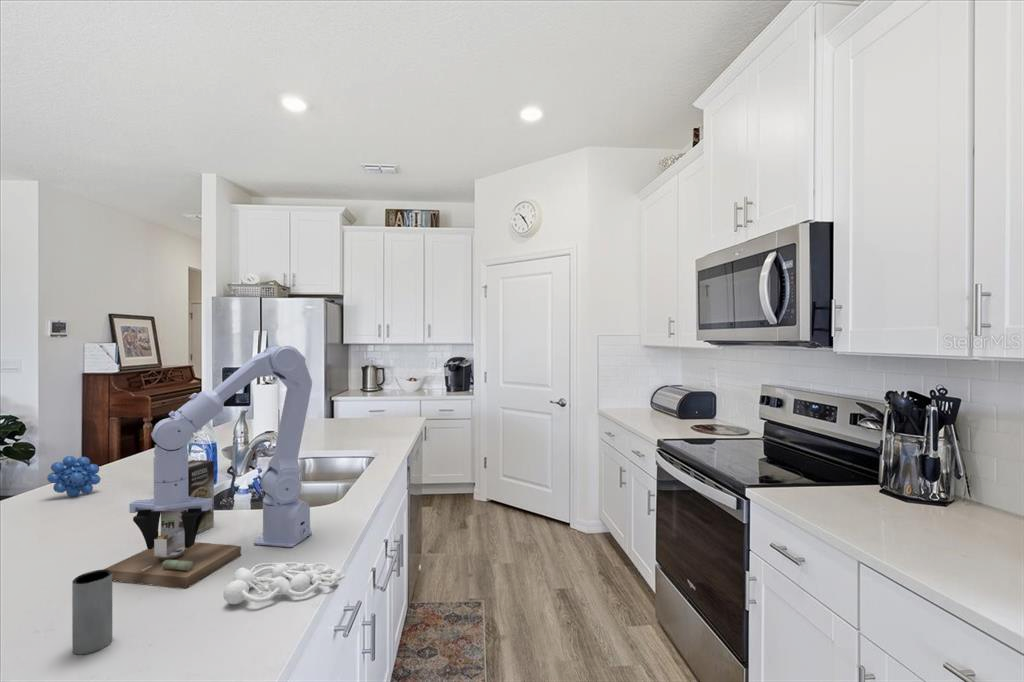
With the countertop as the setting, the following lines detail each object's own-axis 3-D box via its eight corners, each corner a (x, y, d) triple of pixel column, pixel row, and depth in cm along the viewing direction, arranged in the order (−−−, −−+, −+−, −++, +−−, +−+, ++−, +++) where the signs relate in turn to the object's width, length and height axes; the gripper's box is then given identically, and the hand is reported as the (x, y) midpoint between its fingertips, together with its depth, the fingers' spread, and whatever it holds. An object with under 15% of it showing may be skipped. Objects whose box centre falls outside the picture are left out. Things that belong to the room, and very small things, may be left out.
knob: (170, 548, 102) (170, 525, 102) (192, 548, 102) (192, 525, 102) (149, 561, 96) (149, 537, 96) (171, 562, 96) (171, 537, 96)
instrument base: (240, 555, 104) (240, 538, 104) (186, 588, 90) (186, 568, 90) (166, 549, 107) (166, 532, 107) (103, 580, 93) (103, 561, 93)
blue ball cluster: (49, 504, 135) (49, 461, 135) (45, 499, 140) (45, 457, 140) (103, 494, 144) (103, 453, 144) (98, 490, 149) (98, 450, 149)
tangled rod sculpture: (345, 569, 101) (346, 548, 101) (343, 599, 87) (343, 574, 87) (239, 579, 95) (240, 557, 96) (219, 613, 81) (220, 587, 82)
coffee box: (183, 541, 111) (183, 469, 111) (159, 538, 112) (159, 468, 112) (215, 526, 120) (215, 460, 120) (192, 524, 121) (192, 458, 121)
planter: (65, 650, 72) (65, 580, 72) (100, 633, 76) (100, 567, 76) (84, 658, 70) (84, 586, 70) (119, 639, 75) (119, 572, 75)
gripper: (118, 485, 94) (118, 556, 94) (198, 483, 95) (198, 553, 95) (142, 475, 101) (142, 541, 101) (217, 473, 102) (217, 539, 102)
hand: (171, 546), depth 99 cm, fingers open, 6 cm apart
